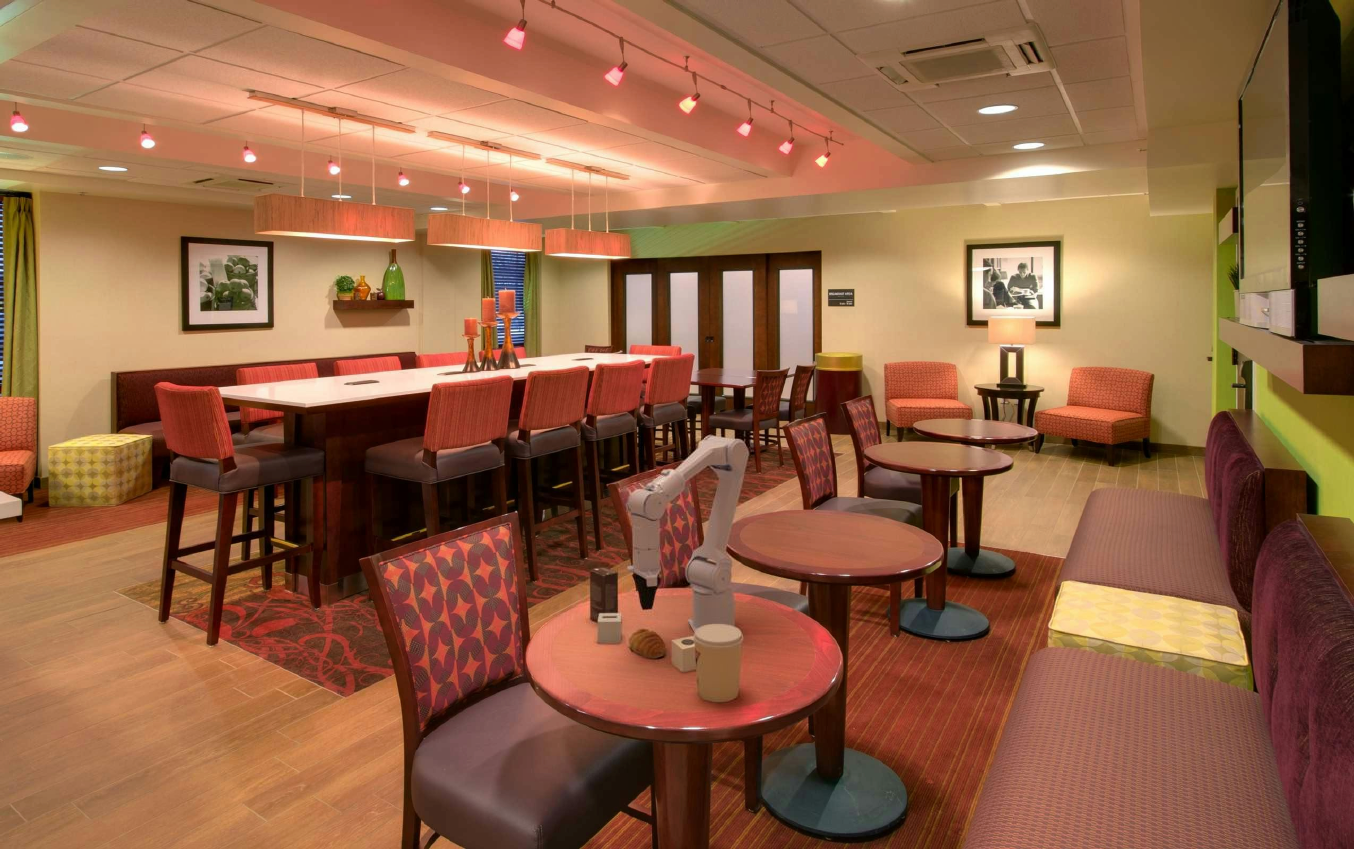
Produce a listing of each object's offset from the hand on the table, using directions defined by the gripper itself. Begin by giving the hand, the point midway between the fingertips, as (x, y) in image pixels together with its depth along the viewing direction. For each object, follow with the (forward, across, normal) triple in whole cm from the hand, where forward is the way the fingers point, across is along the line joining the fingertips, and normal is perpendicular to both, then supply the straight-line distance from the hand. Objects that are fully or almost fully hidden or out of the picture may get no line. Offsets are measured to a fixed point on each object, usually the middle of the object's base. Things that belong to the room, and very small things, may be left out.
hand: (646, 608), depth 170 cm
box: (+10, -19, -7) cm, 22 cm away
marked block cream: (+10, +9, +7) cm, 15 cm away
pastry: (+10, 0, 0) cm, 10 cm away
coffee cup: (+10, +22, +10) cm, 26 cm away
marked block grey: (+10, -8, -7) cm, 14 cm away
